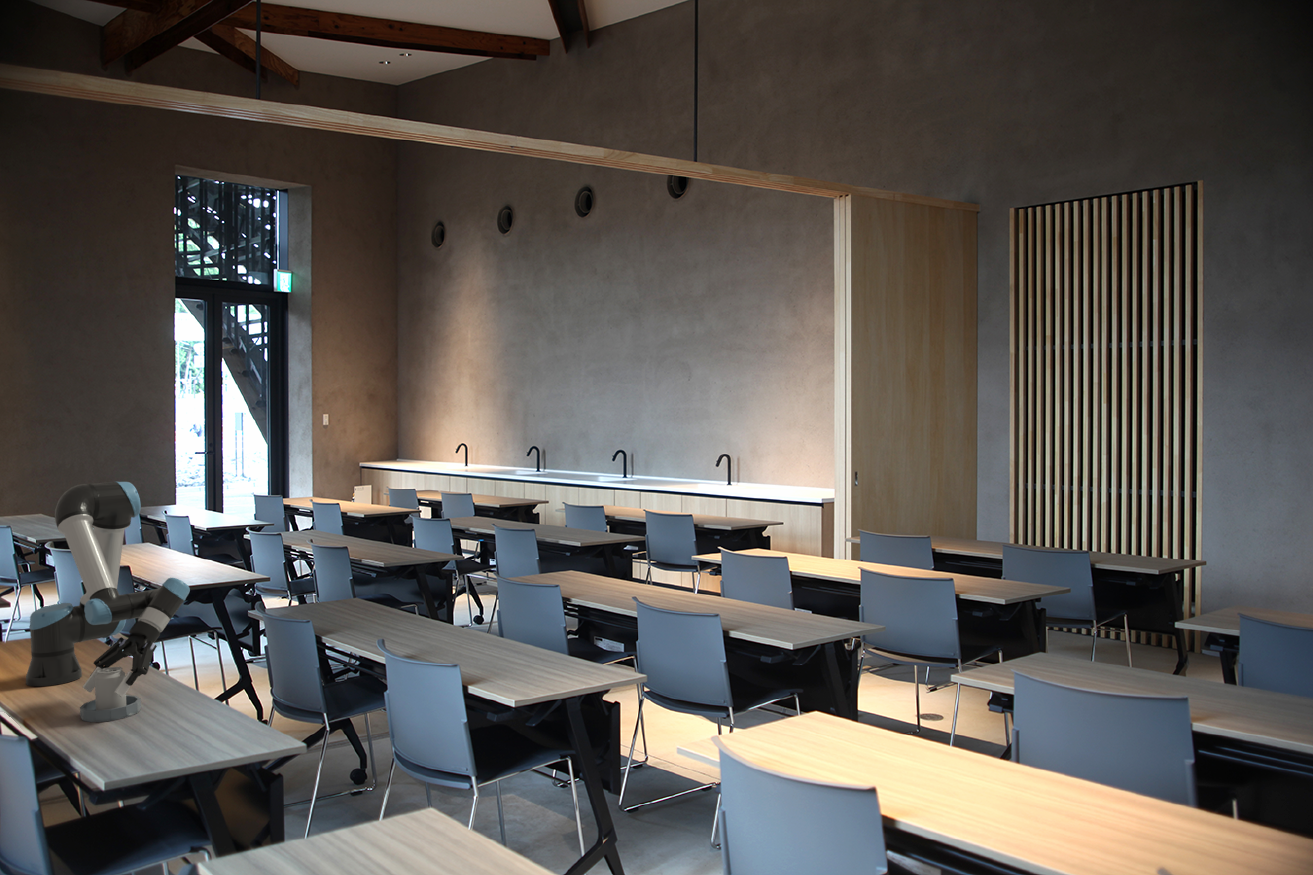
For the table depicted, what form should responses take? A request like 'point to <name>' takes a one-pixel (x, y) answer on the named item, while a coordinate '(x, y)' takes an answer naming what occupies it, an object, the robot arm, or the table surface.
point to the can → (109, 688)
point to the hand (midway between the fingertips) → (102, 692)
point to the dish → (110, 710)
